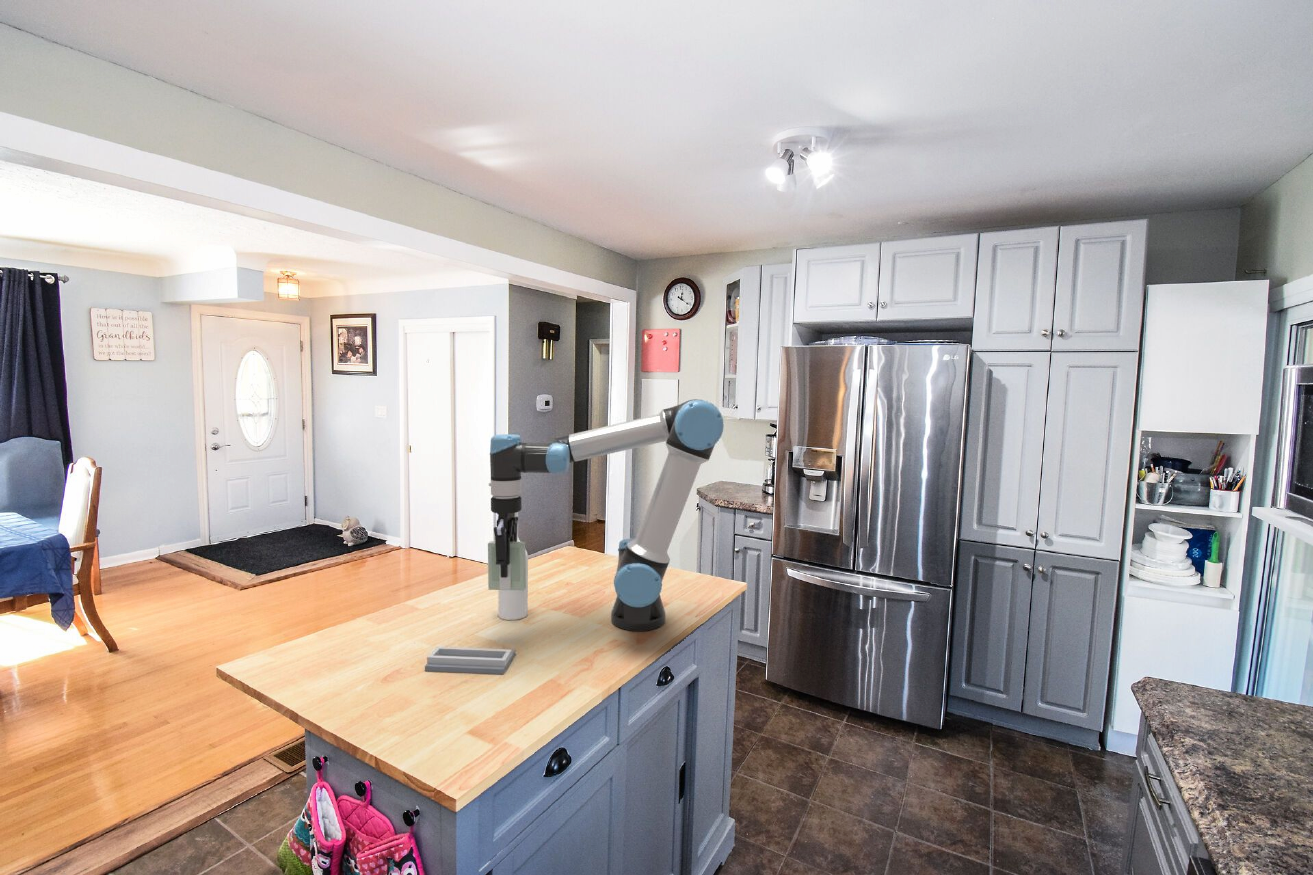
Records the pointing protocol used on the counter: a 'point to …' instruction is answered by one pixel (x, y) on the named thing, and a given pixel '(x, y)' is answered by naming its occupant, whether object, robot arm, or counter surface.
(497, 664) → the base
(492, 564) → the door panel
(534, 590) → the counter surface
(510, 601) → the bottle
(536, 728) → the counter surface
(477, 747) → the counter surface
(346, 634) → the counter surface
